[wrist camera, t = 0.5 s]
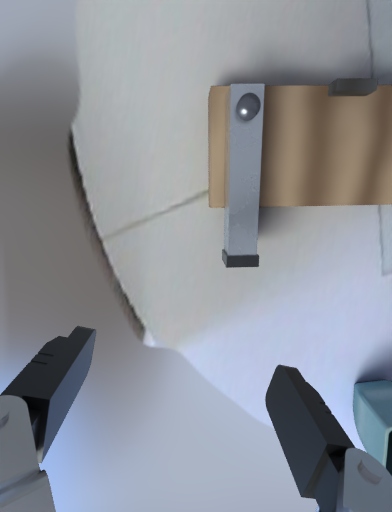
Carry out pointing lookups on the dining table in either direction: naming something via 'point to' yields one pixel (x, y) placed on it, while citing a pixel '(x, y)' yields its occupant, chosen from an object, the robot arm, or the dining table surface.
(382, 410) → the flower pot
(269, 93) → the wooden board with bar
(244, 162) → the hinged leg
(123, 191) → the dining table surface
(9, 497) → the robot arm
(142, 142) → the dining table surface
